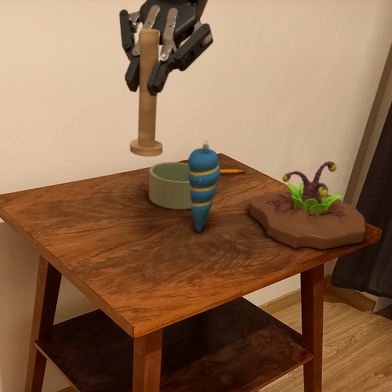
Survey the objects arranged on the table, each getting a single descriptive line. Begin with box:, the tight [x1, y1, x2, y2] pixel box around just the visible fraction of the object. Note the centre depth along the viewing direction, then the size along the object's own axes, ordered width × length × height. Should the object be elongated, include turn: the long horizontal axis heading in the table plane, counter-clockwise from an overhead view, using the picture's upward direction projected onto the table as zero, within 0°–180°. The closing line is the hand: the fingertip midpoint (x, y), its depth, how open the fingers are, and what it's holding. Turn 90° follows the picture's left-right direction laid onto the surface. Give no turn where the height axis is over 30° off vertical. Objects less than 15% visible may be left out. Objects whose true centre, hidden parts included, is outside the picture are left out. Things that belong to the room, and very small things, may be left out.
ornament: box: [187, 139, 221, 233], centre depth 87 cm, size 5×5×15 cm
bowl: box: [148, 161, 192, 210], centre depth 100 cm, size 10×10×5 cm
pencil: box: [220, 168, 244, 175], centre depth 113 cm, size 1×19×1 cm
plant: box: [248, 160, 366, 250], centre depth 94 cm, size 20×20×11 cm
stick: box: [129, 28, 163, 158], centre depth 72 cm, size 5×5×15 cm
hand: (141, 89), depth 70 cm, fingers closed on stick, 2 cm apart
